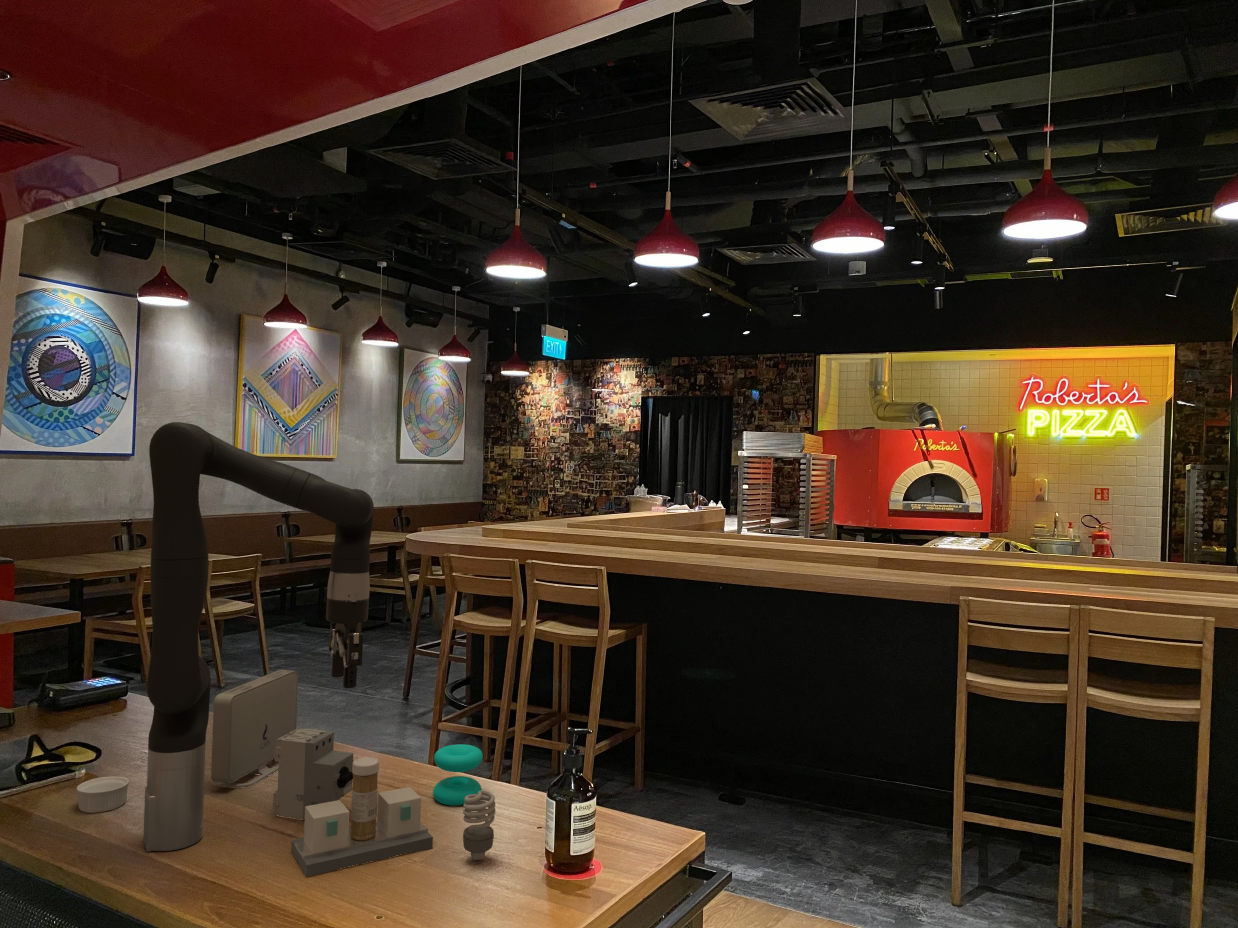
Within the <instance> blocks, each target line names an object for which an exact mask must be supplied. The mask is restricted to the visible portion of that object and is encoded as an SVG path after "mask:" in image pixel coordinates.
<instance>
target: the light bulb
mask: <svg viewBox="0 0 1238 928" xmlns="http://www.w3.org/2000/svg"><path fill="white" fill-rule="evenodd" d="M464 800H465V803H464V805H462V806H463V811H462V814H463V821H464V822H465V823H468V824H472V825H469V826H466V827H465V828H464V830H463V834H462V842H463V843H462V844H463V849H464V850H465V851H467V852H469V853H470V858H471V859H472V860H473V861H476V862H479V861H481V860H482V859H484V858H485V857H486V853H487V852H488V851H490V850H491V849H492V847H493V845H494V837H495V833H494V829H493V828H492V826H491V824H492V823H493V822H494V821H495V817H496V816H495V814H496V802H495V800H496V797H495V795H494V794H493V793H492V792H489V791H487V790H486V791H485V790H482V791H479V792H478V794H472V795H467V796H466V797H465V799H464Z"/></svg>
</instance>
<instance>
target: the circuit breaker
mask: <svg viewBox="0 0 1238 928" xmlns="http://www.w3.org/2000/svg"><path fill="white" fill-rule="evenodd" d="M334 739H335V732H334V731H330V730H329V731H327V730H318V729H309V728H296V730H294V731H292V732H290V733H289V735H287V734H286V735H284V736H282V737H280V738H278V739H277V740H276V742H277V746H276V747H275V760H274V762H278V765H279V767H278V771H277V772H278V774H277V790H276V791H274V792H273V793H272V794H273V795H272V810H273V814H272V817H273V816H275V815H279V816H284V817H291V818H296V819H303V820H305V806H310V805H316V804H321V803H326V802H332V801H337V800H341V799H342V798H343V797H344V796H346V795H347V794H348V793H350V792H352V788H353V773H352V764H353V761H354V752H351V751H350V752H349V751H341V750H335V749H334V741H335V740H334ZM278 754H281V755H280V757H278ZM275 817H276V816H275Z"/></svg>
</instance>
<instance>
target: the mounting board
mask: <svg viewBox="0 0 1238 928" xmlns="http://www.w3.org/2000/svg"><path fill="white" fill-rule="evenodd" d="M376 826H377V821H376ZM349 831H351V827H349ZM290 841H291V844H290V851H292V852H291V853H293V854H292V855H293V857H294V856H295V857H294V858H296V859H295V860H296V862H297V863H298V866H299V867H300V868H301V871H302V872H303V874H304V876H305V877H306V878H309V877H313V876H317V875H318V876H319V875H321V874H325V873H330V872H334V871H333V870H335V871H338V870H337V869H340V868H344V867H348V866H352V865H356V864H361V865H363V864H362V863H366V862H370V861H374V862H377V861H376V860H379V861H382V860H381V859H383V860H386V859H385V858H387V859H390V858H389V857H392V858H394V857H393V856H396V855H400V854H401V855H400V856H403V855H402V854H405V853H409V854H411V853H410V852H413V853H417V852H416V851H418V852H421V851H420V850H422V851H425V850H426V851H427V850H430V849H433V846H434V836H433V835H432V834H431V833H430V832H429V831H428V832H425V833H420V834H416V835H411V836H407V837H402V838H397V839H393V840H388V841H384V842H379V843H375V844H370V845H365V846H361V847H356V848H352V849H347V850H343V851H338V852H333V853H329V854H324V855H320V856H315V857H311V858H306V859H303V858H302V856H301V855H300V853H299V851H298V850H297V848H296V846H295V842H300V841H304V836H303V837H298V838H294V839H291V840H290ZM405 855H406V854H405ZM396 857H397V856H396ZM370 863H371V862H370ZM366 864H367V863H366ZM348 868H349V867H348ZM344 869H345V868H344ZM340 870H341V869H340Z"/></svg>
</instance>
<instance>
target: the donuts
mask: <svg viewBox="0 0 1238 928" xmlns="http://www.w3.org/2000/svg"><path fill="white" fill-rule="evenodd" d="M483 755H484V754H483V752H482V750H481V749H480V748H479V747H477V746H474V745H472V744H471V745H470V744H462V743H461V744H459V743H458V744H449V745H446V746H443V747H441V748H439V749H438V750H437V751H436V752H435V753H434V756H433V760H434V763H435V765H436V767H438V768H439V769H440V770H442V771H445V772H451V773H463V772H468V771H471V770H474V769H476V768H477V767H479V766H480V764H481V763H482V761H483V758H484V756H483ZM482 788H483V787H482V785H481V784H480V782H479V781H477V780H476V779H474V778H472V777H469V776H465V775H456V776H455V775H454V776H449V777H446V778H443V779H441V780H440V781H438V782H437V783H436V784H435V785H434V787H433V790H432V795H433V798H434V799H435V800H436V801H437V802H438V803H439V804H442V805H447V806H463V805H464V803H465V800H464V799H465V797H466V796H467V795H472V794H478V792H479V791H483V789H482Z"/></svg>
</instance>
